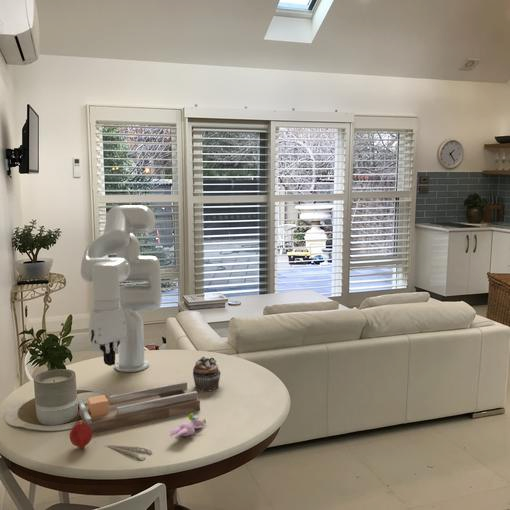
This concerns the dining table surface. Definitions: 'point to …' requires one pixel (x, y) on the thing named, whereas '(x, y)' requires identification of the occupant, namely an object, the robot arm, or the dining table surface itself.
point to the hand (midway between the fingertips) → (109, 364)
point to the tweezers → (131, 449)
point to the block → (98, 405)
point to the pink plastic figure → (188, 427)
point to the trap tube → (142, 406)
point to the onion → (81, 434)
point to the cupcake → (206, 374)
